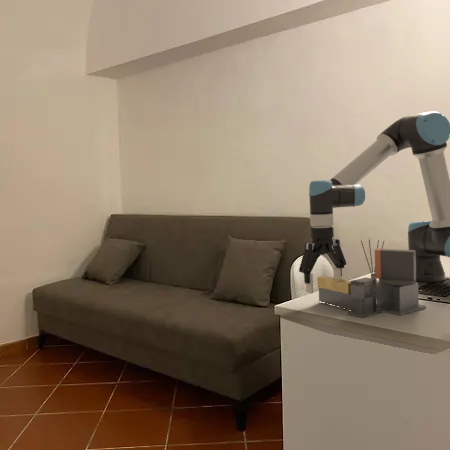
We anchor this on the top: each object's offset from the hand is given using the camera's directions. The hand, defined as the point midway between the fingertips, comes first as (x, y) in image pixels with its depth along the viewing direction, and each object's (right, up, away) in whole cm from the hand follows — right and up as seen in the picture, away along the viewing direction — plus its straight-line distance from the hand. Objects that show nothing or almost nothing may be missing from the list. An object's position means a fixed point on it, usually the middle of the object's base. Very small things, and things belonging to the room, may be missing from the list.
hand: (323, 289), depth 170 cm
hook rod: (+3, +1, -5) cm, 6 cm away
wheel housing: (+21, -5, -10) cm, 24 cm away
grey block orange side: (+21, +4, -11) cm, 24 cm away
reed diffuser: (+20, -3, +8) cm, 22 cm away
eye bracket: (+5, -5, -8) cm, 11 cm away
